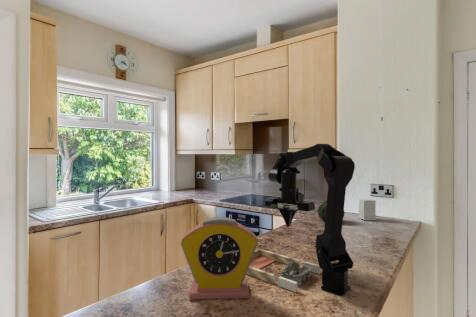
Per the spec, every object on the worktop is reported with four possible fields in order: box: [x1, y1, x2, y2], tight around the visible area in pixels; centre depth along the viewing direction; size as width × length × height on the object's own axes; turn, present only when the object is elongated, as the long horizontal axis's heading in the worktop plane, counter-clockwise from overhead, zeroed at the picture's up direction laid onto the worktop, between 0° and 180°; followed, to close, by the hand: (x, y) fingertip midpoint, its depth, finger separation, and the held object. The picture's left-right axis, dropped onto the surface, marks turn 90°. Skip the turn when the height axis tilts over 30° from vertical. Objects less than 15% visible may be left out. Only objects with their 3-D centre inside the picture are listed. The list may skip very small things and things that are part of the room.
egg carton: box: [279, 260, 311, 286], centre depth 90 cm, size 11×8×4 cm
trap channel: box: [246, 248, 301, 284], centre depth 98 cm, size 18×17×2 cm
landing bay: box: [277, 261, 322, 293], centre depth 89 cm, size 6×17×2 cm, turn 139°
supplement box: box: [358, 198, 376, 221], centre depth 172 cm, size 7×7×13 cm
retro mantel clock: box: [180, 216, 258, 301], centre depth 81 cm, size 22×9×22 cm, turn 93°
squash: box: [317, 199, 345, 221], centre depth 167 cm, size 14×15×15 cm
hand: (288, 226), depth 104 cm, fingers closed
